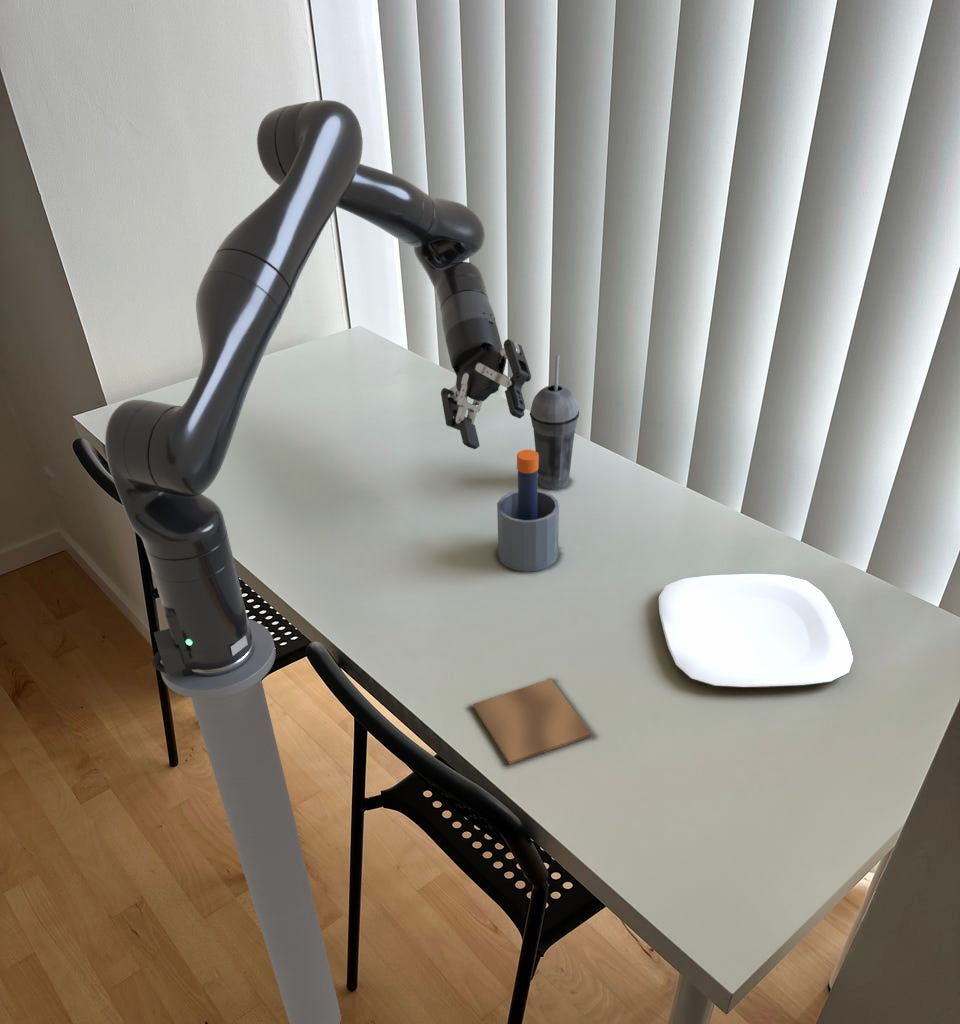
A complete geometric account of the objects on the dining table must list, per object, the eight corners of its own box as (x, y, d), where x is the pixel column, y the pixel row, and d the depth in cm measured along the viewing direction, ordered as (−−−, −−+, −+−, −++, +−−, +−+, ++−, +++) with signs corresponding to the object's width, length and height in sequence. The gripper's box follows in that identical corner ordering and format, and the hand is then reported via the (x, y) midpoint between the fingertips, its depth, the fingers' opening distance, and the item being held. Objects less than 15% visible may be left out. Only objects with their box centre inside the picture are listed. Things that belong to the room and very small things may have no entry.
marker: (523, 558, 134) (522, 461, 125) (514, 548, 136) (513, 452, 127) (541, 553, 135) (542, 456, 126) (532, 543, 137) (532, 447, 128)
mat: (509, 764, 106) (509, 761, 105) (472, 707, 113) (472, 704, 113) (591, 736, 109) (591, 733, 108) (550, 682, 116) (550, 678, 115)
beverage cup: (523, 490, 149) (523, 366, 137) (537, 467, 155) (537, 345, 142) (570, 497, 147) (573, 371, 135) (582, 473, 153) (586, 350, 140)
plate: (866, 692, 113) (869, 681, 111) (677, 698, 113) (678, 687, 112) (813, 580, 129) (816, 570, 128) (649, 586, 130) (650, 576, 128)
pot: (513, 577, 132) (512, 527, 127) (489, 546, 138) (487, 498, 133) (567, 562, 134) (569, 512, 129) (541, 532, 140) (541, 484, 135)
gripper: (418, 352, 140) (439, 450, 134) (488, 294, 131) (514, 396, 126) (455, 368, 145) (477, 463, 140) (525, 313, 136) (551, 412, 131)
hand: (495, 431), depth 133 cm, fingers open, 8 cm apart
